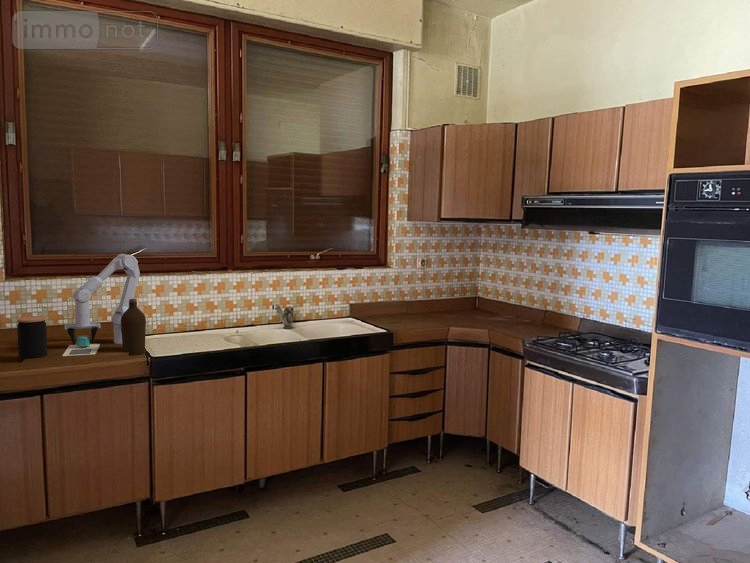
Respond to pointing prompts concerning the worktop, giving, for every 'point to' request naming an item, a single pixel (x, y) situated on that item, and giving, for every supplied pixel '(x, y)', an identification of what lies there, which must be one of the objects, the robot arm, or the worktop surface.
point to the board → (75, 347)
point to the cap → (83, 340)
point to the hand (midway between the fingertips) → (83, 344)
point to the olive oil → (133, 329)
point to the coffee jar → (32, 337)
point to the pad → (80, 351)
